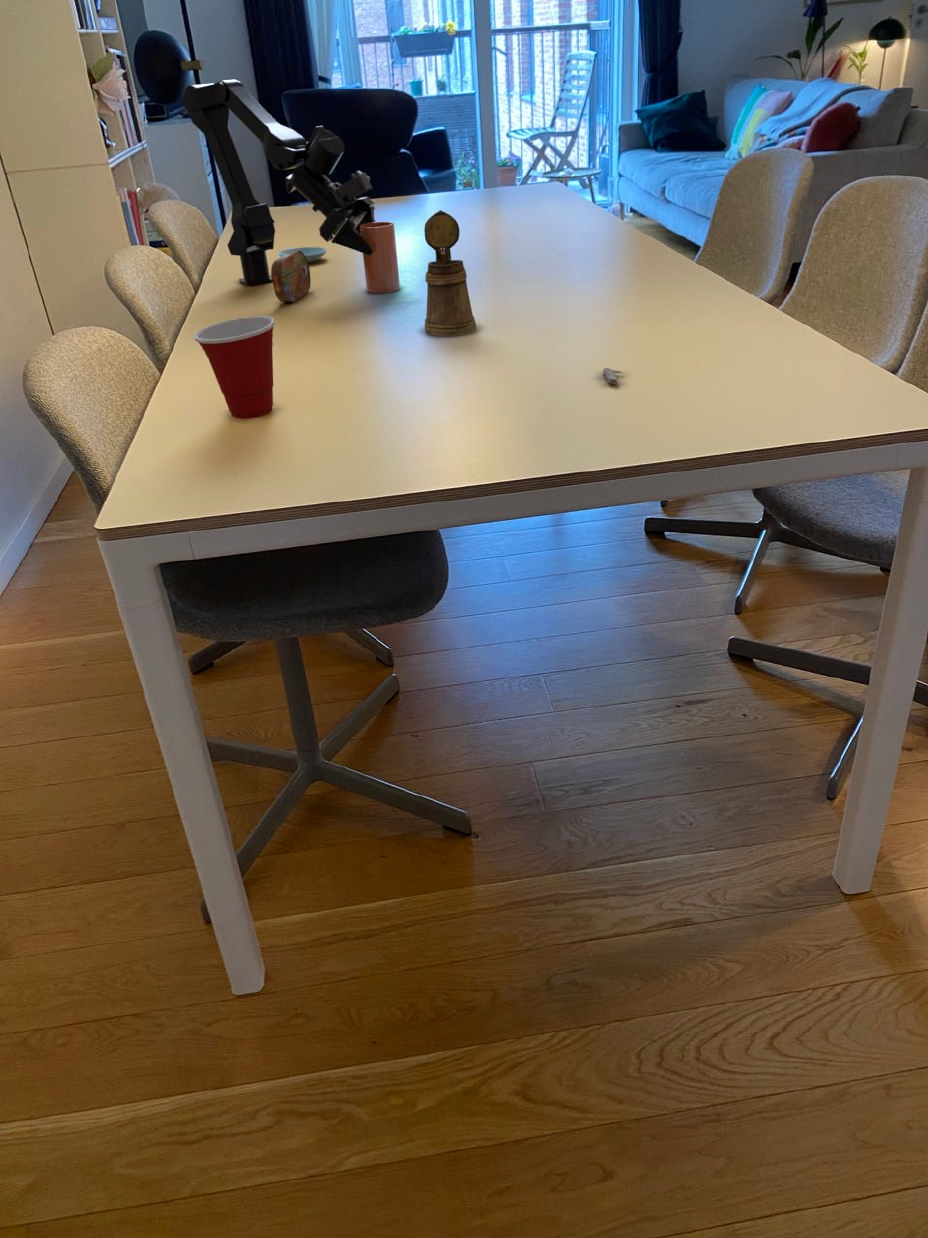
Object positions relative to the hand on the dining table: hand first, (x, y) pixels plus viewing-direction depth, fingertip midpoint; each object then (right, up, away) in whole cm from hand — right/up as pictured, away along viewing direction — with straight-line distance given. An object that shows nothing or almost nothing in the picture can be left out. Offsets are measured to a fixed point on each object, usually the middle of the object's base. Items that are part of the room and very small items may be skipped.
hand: (378, 248), depth 184 cm
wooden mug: (+15, -24, -24) cm, 37 cm away
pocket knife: (+39, -41, -55) cm, 78 cm away
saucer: (-22, +12, +36) cm, 44 cm away
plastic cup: (-13, -46, -57) cm, 75 cm away
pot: (+1, -7, +4) cm, 8 cm away
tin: (-18, -9, +3) cm, 20 cm away
